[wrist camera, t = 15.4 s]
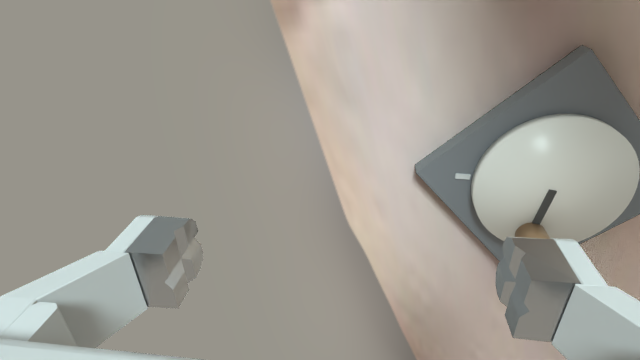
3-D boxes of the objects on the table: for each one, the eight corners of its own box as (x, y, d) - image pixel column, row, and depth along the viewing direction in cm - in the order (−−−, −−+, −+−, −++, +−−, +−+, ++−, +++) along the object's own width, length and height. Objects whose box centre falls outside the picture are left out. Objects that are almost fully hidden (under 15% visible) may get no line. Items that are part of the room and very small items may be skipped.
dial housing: (581, 44, 38) (592, 49, 36) (674, 181, 43) (687, 191, 41) (414, 164, 46) (416, 173, 45) (509, 266, 52) (514, 277, 50)
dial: (501, 100, 39) (521, 125, 34) (664, 129, 38) (712, 158, 33) (452, 226, 47) (462, 263, 42) (586, 251, 47) (614, 292, 41)
